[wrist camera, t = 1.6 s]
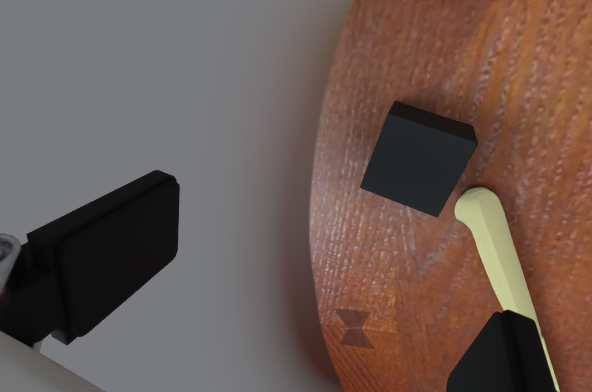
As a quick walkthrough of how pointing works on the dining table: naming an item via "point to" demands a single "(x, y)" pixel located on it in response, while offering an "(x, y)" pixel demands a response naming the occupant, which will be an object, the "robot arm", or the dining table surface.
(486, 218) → the knife
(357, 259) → the dining table surface
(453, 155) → the loose pad
